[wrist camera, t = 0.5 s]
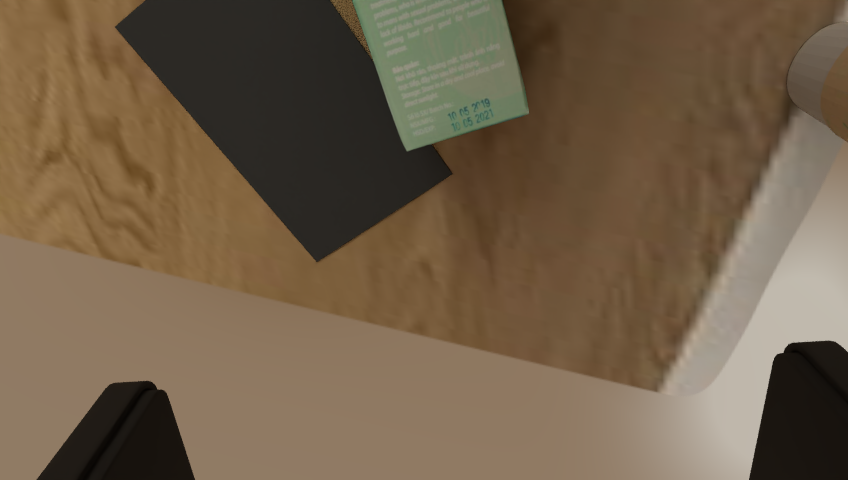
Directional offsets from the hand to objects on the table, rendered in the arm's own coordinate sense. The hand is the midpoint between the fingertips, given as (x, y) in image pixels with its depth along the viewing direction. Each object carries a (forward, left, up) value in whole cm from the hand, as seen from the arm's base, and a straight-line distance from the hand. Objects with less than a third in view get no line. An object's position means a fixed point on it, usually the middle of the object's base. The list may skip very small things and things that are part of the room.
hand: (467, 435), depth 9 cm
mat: (-4, -9, -32) cm, 34 cm away
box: (-4, +2, -32) cm, 33 cm away
